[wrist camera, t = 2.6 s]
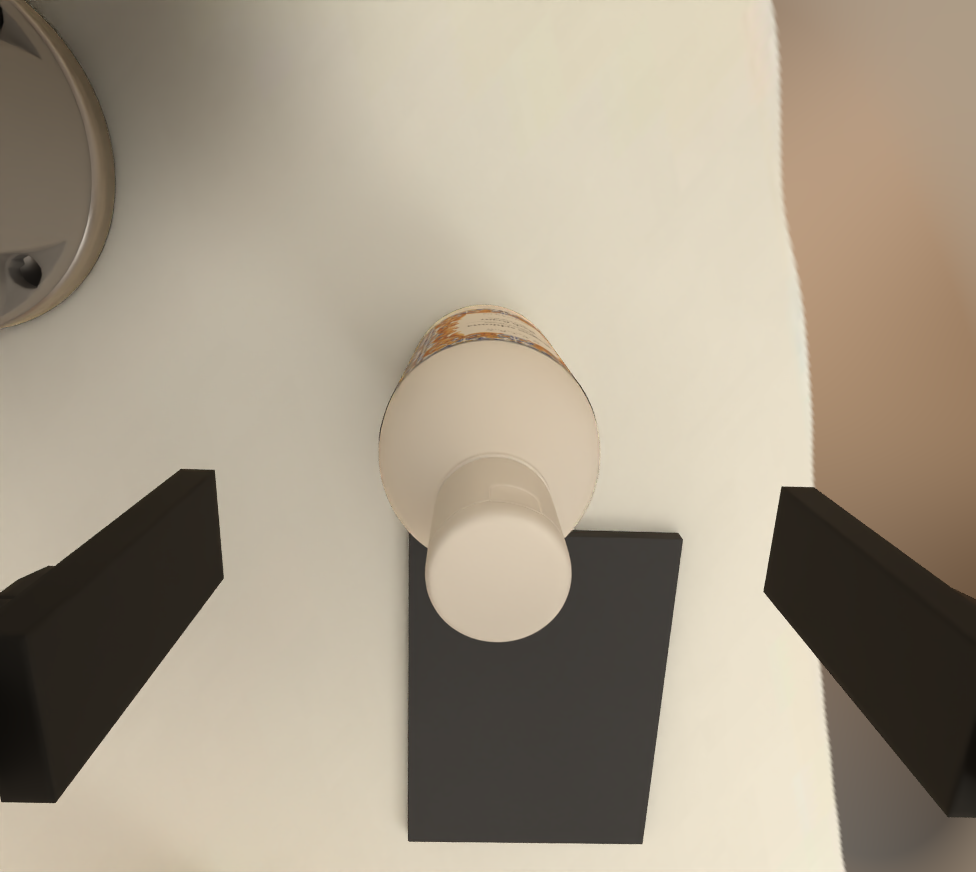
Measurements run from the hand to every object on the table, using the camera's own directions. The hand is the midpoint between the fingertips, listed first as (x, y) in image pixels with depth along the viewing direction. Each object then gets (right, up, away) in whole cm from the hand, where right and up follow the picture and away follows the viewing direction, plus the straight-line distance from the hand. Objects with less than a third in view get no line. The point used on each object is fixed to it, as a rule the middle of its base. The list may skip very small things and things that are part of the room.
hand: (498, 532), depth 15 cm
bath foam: (0, +5, +17) cm, 18 cm away
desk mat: (+2, -12, +22) cm, 25 cm away
